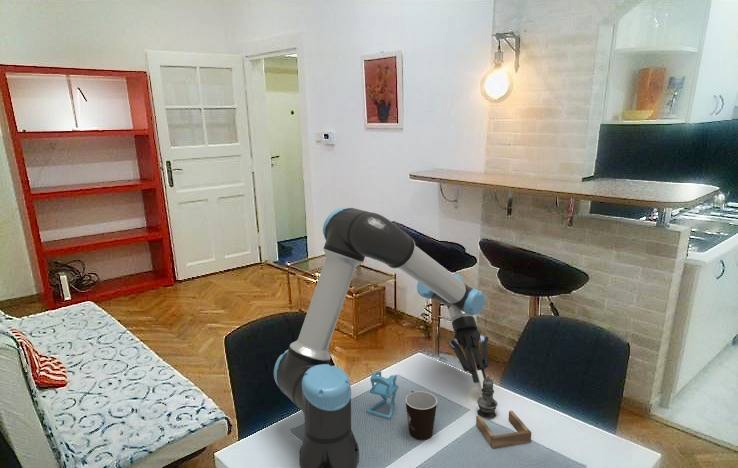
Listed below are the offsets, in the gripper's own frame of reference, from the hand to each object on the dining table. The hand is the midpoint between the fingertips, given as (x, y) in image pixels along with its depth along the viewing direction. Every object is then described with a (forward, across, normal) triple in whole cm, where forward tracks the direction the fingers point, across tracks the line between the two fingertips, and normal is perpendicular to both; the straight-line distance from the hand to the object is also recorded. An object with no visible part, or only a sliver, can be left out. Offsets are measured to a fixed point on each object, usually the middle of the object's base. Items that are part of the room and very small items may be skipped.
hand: (483, 392), depth 135 cm
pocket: (+12, +1, +6) cm, 13 cm away
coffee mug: (+8, +22, +1) cm, 23 cm away
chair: (-1, +29, -7) cm, 30 cm away
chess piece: (+6, +1, -1) cm, 6 cm away
